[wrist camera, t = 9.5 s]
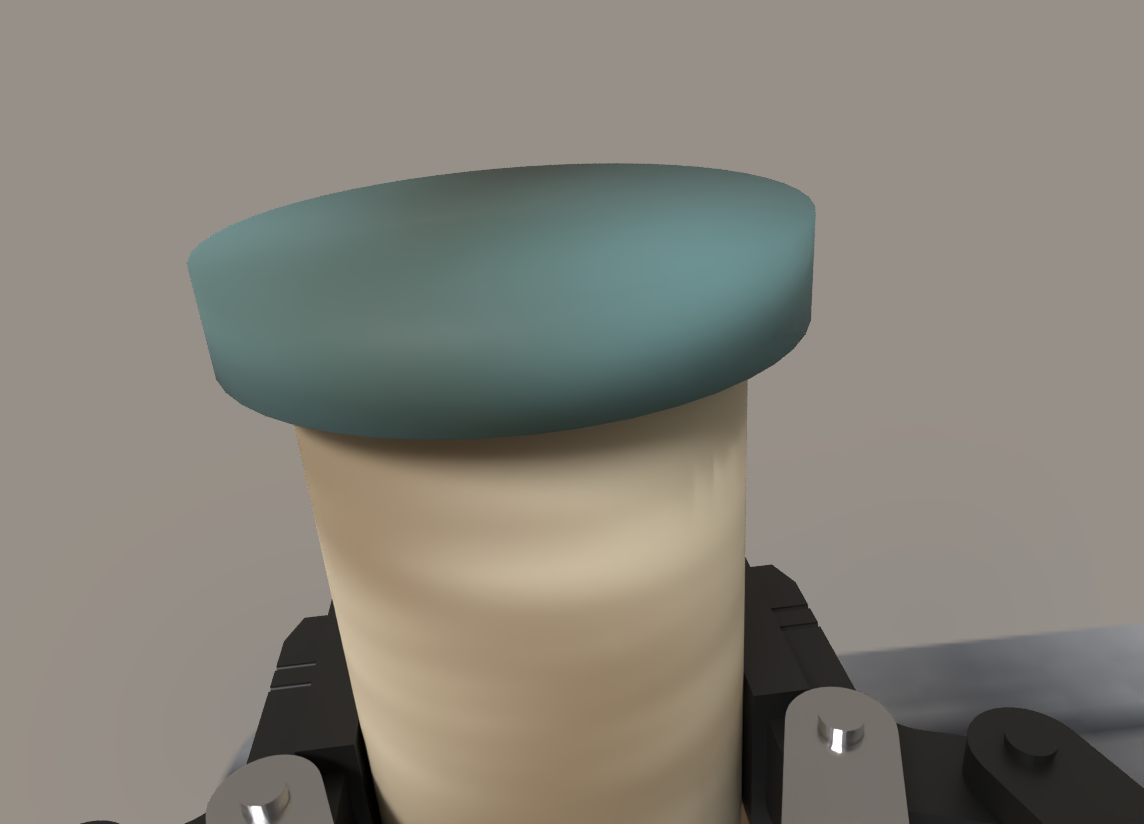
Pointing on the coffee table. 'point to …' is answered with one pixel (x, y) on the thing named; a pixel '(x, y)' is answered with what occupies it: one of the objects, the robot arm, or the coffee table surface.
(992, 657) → the coffee table surface
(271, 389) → the bobbin
